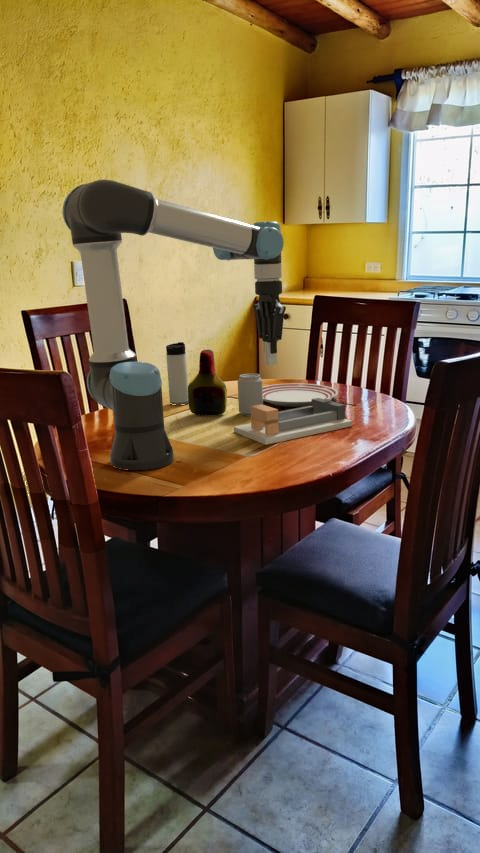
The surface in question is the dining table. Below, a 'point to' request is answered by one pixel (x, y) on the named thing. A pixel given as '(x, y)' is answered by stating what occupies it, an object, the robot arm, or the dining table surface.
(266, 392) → the dinner plate
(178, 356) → the travel mug
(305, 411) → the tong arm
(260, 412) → the tan wooden block
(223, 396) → the bottle
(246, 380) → the can
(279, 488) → the dining table surface
